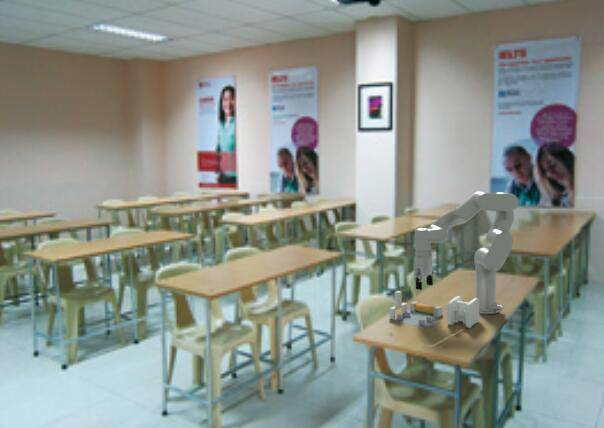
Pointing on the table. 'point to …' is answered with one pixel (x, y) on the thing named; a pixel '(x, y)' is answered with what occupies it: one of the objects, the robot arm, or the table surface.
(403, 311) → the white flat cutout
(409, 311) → the mat
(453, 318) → the cable organizer
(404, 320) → the board
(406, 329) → the table surface
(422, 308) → the grey orange bar
